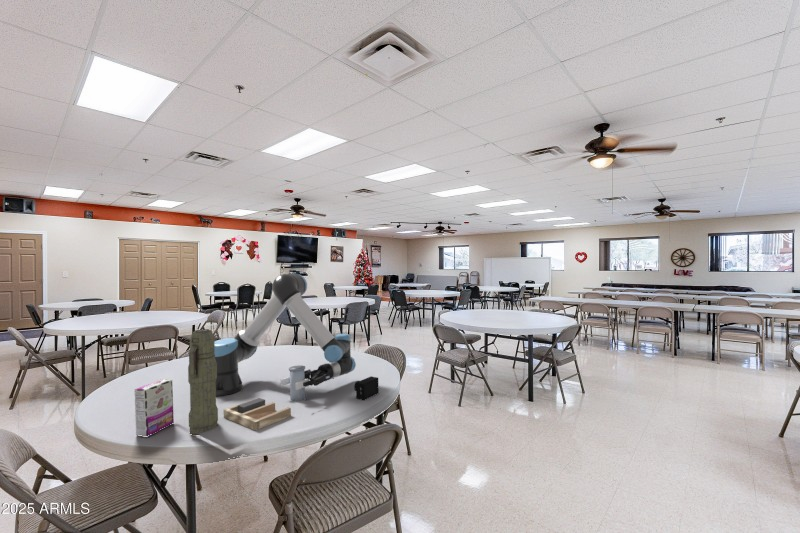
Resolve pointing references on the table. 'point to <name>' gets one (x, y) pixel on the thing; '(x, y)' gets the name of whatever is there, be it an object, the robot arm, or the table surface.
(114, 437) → the table surface
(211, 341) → the thermos
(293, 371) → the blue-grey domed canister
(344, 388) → the table surface
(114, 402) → the table surface
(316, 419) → the table surface
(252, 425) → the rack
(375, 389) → the digital camera
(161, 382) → the candy bar box
